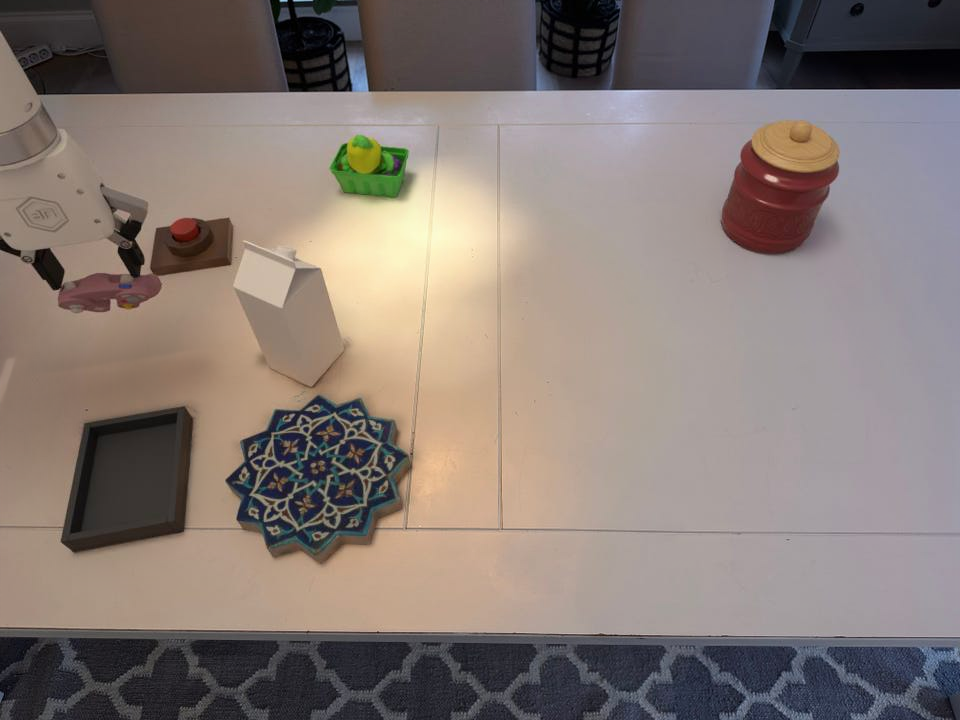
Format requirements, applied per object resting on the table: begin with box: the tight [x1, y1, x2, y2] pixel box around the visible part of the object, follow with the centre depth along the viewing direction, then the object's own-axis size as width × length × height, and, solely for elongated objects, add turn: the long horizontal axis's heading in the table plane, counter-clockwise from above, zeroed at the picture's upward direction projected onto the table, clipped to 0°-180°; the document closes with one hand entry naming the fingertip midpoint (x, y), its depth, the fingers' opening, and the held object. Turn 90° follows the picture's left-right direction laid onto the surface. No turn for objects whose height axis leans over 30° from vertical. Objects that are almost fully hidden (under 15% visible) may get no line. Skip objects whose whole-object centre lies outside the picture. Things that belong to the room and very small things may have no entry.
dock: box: [60, 405, 194, 553], centre depth 76 cm, size 12×15×3 cm
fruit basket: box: [328, 134, 410, 198], centre depth 106 cm, size 11×9×11 cm
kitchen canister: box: [721, 119, 841, 255], centre depth 95 cm, size 13×13×18 cm
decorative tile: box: [225, 393, 412, 565], centre depth 76 cm, size 20×20×2 cm
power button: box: [170, 217, 200, 243], centre depth 99 cm, size 4×4×2 cm
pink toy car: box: [57, 272, 163, 314], centre depth 75 cm, size 10×5×7 cm, turn 100°
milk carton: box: [232, 240, 345, 388], centre depth 81 cm, size 7×7×19 cm
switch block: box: [149, 217, 233, 277], centre depth 100 cm, size 11×9×4 cm
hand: (98, 274), depth 74 cm, fingers closed on pink toy car, 7 cm apart
